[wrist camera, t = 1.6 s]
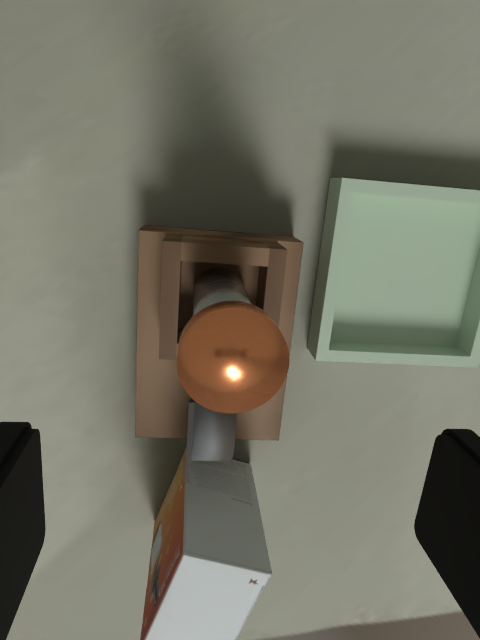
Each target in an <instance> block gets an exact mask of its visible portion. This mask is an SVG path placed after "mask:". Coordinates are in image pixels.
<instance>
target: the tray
mask: <svg viewBox="0 0 480 640" xmlns="http://www.w3.org/2000/svg"><path fill="white" fill-rule="evenodd" d="M307 348H308V350H309V351H310V353H311V354H312V356H313V357H314V359H315V360H316V361H336V362H360V363H384V364H408V365H431V366H455V367H478V366H479V362H480V190H469V189H459V188H448V187H437V186H426V185H415V184H404V183H393V182H383V181H372V180H361V179H350V178H330V184H329V191H328V198H327V205H326V213H325V220H324V227H323V234H322V242H321V249H320V256H319V263H318V271H317V278H316V285H315V292H314V300H313V307H312V314H311V322H310V329H309V336H308V343H307Z"/></svg>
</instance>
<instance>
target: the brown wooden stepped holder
mask: <svg viewBox="0 0 480 640" xmlns="http://www.w3.org/2000/svg"><path fill="white" fill-rule="evenodd" d="M303 244H304V243H303V242H302V241H300V240H298V239H297V238H295V237H292V236H279V235H266V234H252V233H239V232H226V231H213V230H199V229H186V228H173V227H159V226H146V225H144V226H143V227H142V228H141V229H140V230H139V244H138V303H137V361H136V420H135V437H140V438H187V446H186V464H185V483H190V471H191V461H232V458H233V454H234V447H235V439H238V440H279V434H280V426H281V418H282V410H283V402H284V394H285V386H286V378H287V376H286V378H285V381H284V383H283V385H282V386H281V388H280V389H279V391H278V392H277V393H276V394H275V395H274V396H273V397H272V398H271V399H270V400H269V401H267V402H266V403H264V404H263V405H261V406H259V407H257V408H255V409H253V410H250V411H246V412H242V413H230V414H229V413H220V412H215V411H212V410H209V409H207V408H205V407H203V406H201V405H200V404H198V403H197V402H196V401H194V400H193V399H192V398H191V397H190V396H189V395H188V394H187V392H186V391H185V389H184V388H183V386H182V384H181V382H180V379H179V376H178V372H177V352H178V343H179V339H180V336H181V333H182V331H183V329H184V327H185V326H186V324H187V323H188V322H189V320H190V319H191V318H192V317H193V290H194V285H195V283H196V281H197V279H198V278H199V276H200V275H201V274H203V273H204V272H205V271H207V270H209V269H213V268H225V269H229V270H231V271H233V272H234V273H235V274H236V275H237V276H238V277H239V278H240V279H241V281H242V283H243V285H244V288H245V290H246V292H247V294H248V296H249V299H250V301H251V303H252V304H253V305H255V306H257V307H259V308H261V309H262V310H264V311H265V312H266V313H268V314H269V315H270V316H271V317H272V319H273V320H274V321H275V322H276V324H277V326H278V328H279V329H280V331H281V333H282V335H283V337H284V338H285V341H286V343H287V346H288V351H289V355H290V347H291V339H292V331H293V323H294V315H295V307H296V299H297V291H298V283H299V275H300V267H301V259H302V252H303Z"/></svg>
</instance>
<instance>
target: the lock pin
mask: <svg viewBox="0 0 480 640" xmlns="http://www.w3.org/2000/svg"><path fill="white" fill-rule="evenodd" d="M288 368H289V351H288V346H287V343H286V341H285V338H284V337H283V335H282V333H281V331H280V329H279V328H278V326H277V324H276V322H275V321H274V320H273V319H272V317H271V316H270V315H269V314H268V313H266V312H265V311H264V310H262V309H261V308H259V307H257V306H255V305H253V304H252V303H251V301H250V299H249V296H248V294H247V292H246V290H245V288H244V285H243V283H242V281H241V279H240V278H239V277H238V276H237V275H236V274H235V273H234V272H233V271H231V270H229V269H225V268H213V269H209V270H207V271H205V272H204V273H203V274H201V275H200V276H199V278H198V279H197V281H196V283H195V285H194V290H193V317H192V318H191V319H190V320H189V322H188V323H187V324H186V326H185V327H184V329H183V331H182V333H181V336H180V339H179V343H178V352H177V372H178V376H179V379H180V382H181V384H182V386H183V388H184V389H185V391H186V392H187V394H188V395H189V396H190V397H191V398H192V399H193V400H194V401H196V402H197V403H198V404H200V405H201V406H203V407H205V408H207V409H209V410H212V411H215V412H220V413H229V414H230V413H242V412H246V411H250V410H253V409H255V408H257V407H259V406H261V405H263V404H264V403H266V402H267V401H269V400H270V399H271V398H272V397H273V396H274V395H275V394H276V393H277V392H278V391H279V389H280V388H281V386H282V385H283V383H284V381H285V378H286V376H287V373H288Z"/></svg>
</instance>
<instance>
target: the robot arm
mask: <svg viewBox="0 0 480 640" xmlns="http://www.w3.org/2000/svg"><path fill="white" fill-rule="evenodd" d="M414 529H415V534H416V537H417V539H418V541H419V543H420V544H421V546H422V547H423V549H424V551H425V552H426V554H427V555H428V557H429V558H430V560H431V562H432V563H433V565H434V566H435V568H436V570H437V571H438V573H439V574H440V576H441V578H442V579H443V581H444V582H445V584H446V585H447V587H448V589H449V590H450V592H451V593H452V595H453V597H454V598H455V600H456V601H457V603H458V604H459V606H460V608H461V609H462V611H463V612H464V614H465V616H466V617H467V619H468V620H469V622H470V624H471V625H472V627H473V628H474V630H475V631H476V633H477V635H478V636H479V638H480V437H479V436H478V435H477V434H476V433H474V432H473V431H472V430H469V429H446V430H444V431H443V432H442V434H441V435H438V436H437V437H436V439H435V443H434V447H433V451H432V455H431V459H430V463H429V467H428V471H427V475H426V479H425V483H424V487H423V491H422V495H421V499H420V503H419V507H418V511H417V515H416V519H415V524H414ZM44 537H45V513H44V495H43V478H42V460H41V443H40V432H39V430H38V429H32V428H31V425H30V423H29V422H0V640H6V638H7V635H8V633H9V630H10V628H11V625H12V623H13V620H14V618H15V615H16V612H17V610H18V607H19V605H20V602H21V600H22V597H23V595H24V592H25V589H26V587H27V584H28V582H29V579H30V577H31V574H32V572H33V569H34V566H35V564H36V561H37V559H38V556H39V554H40V551H41V549H42V546H43V542H44Z"/></svg>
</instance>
